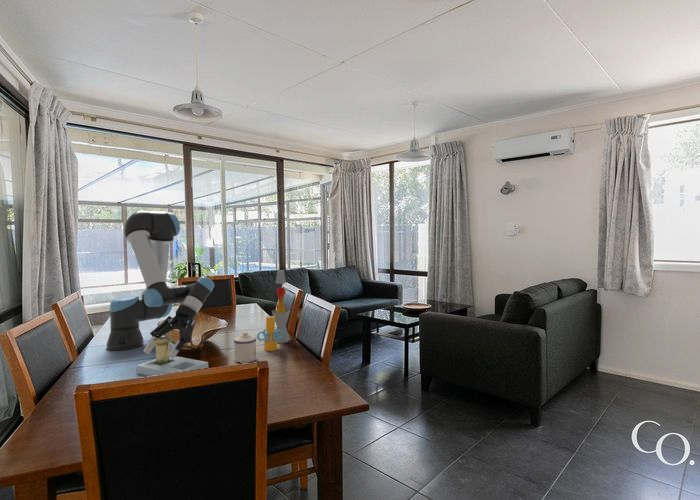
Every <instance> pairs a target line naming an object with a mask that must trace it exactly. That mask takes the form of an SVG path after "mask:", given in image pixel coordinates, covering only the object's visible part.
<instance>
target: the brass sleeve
mask: <svg viewBox="0 0 700 500" xmlns="http://www.w3.org/2000/svg"><path fill="white" fill-rule="evenodd" d="M170 342H172V337H171V336H161V337H160V338H156V339H154V343H155V344H156V345H155V359H156V365H161V366H162V365H165V364H167V363H170V357H169V356H168V354H169V353H170V351H171V350H170Z"/></svg>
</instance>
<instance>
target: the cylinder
mask: <svg viewBox="0 0 700 500" xmlns="http://www.w3.org/2000/svg"><path fill="white" fill-rule="evenodd" d="M277 332H282V336H281V337H279V336H278V333H277ZM260 334H262V336H263V338H260ZM276 335H277V336H276ZM283 336H284V332H283V331H282V330H277V331H276V323H275V316H273V315H268V316H266V317H265V329H263V331H259V332H257V335H256V340H258V341H259V342H263V350H264V351H266V352H274V351H276V350H277V349H278V343H277V341H278V339H281V338H283ZM276 338H277V339H276Z"/></svg>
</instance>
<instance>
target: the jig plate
mask: <svg viewBox="0 0 700 500" xmlns="http://www.w3.org/2000/svg"><path fill="white" fill-rule="evenodd" d="M204 368H208V369H209V362H208V361H204V360H197V359H193V358H189V357H188V358H186V357H182V356H177V355H176V356H175V358H174V359H172V358H170V363H167V364H165V365H162V366H161V365H156V358H155V359H152V360H149V361H146V362H143V363H139V364H136V374H139V375H144V376H149V377H151V376H150V375H160V374H168V373H175V372H183V371H190V370H197V369H204Z"/></svg>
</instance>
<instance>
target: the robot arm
mask: <svg viewBox="0 0 700 500" xmlns="http://www.w3.org/2000/svg"><path fill="white" fill-rule="evenodd" d="M180 228H181V225H180V220H179V219H178V216H177V215H176V214H174V212H173V213H172V212H170V211H169V212H168V211H151V210H150V211H149V210H139V211H136V212H133V213H132V214H131V215H130V216H129V217H127V219H126V222H125V224H124V237H125V240H126V241H127V242H128V243H130V245H131V247H132V252H133V254H134V257H135V259H136V261H137V265H138V267H139V270H140V273H141V276H142V278H143V281H144V284H145V286H146V287H145V289H144V290H143V291H142V292H141V296H140V297H139V295H137V294H130V295H123V296H119V297H116V298H114V299H112V300H111V301H110V304H109V306H110V307H109V317H110V319H109V320H110V333H109V335H108V339H107V341H106V350H108V351H126V350H133V349H136V348H139V347H141V346H144V343H145V341H144V337H143V334H142V332H141V329H140V322H145V321H150V320H156V319H157V320H158V319H161V318H165V317H166V319H165V320H164V321H162V322H161V323H160V324H159V325H158V326H157V327H155V328H154V329H153V330H152V331H151V332H150V333H149V334H150V335H151V337H150V339H149V341H148V342H147V345H146V346H145V348H143V352H144V353H146V355H150V354H151V352H152V351H153V350H154V348H155V347H156V344H155V343H154V339H156V338H160V337H164V336H165V335H166V334H167V333H169V332H171V331H174V330H178V331H179V339H178V340H176V342H175V344H174V345H173V347H172V348H171V350H170V353H169V354H168V356H169V357H170V358H172V359H174V358H175V356H177V355H178V353H179V352H180V351H181V350H182V348H183V346H184V345H185V344H187V343H188V344H190V343H191V341H192V336H193V333H194V332H193V331H194V327H195V325H196V324H197V323H196V321H195V320H194V319H195V318H196V316H197V314H198V313H199V311H200V309H201V308H202V306H203V305H204V303H205V302H206V300H207V299H208V297H209V296H210V294H212V292H213V290H214V288H215V282H214V280H212V279H210V277H207V276H200V277H199V278H198V279H197V280H196V282H195V283H190V284H186V285H183V284H182V285H177V286H176V285H175V286H168V285H167V275H168V265H169V254H170V244H171V243H172V242H173V241H174V240H175V239H174V237H176V236H178V235H179V233H180ZM176 304H180V305H179V307H178V308H177V309H176V311H175V316H174V317H171V315H170V313H171V312H172V308H173V305H176Z"/></svg>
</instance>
